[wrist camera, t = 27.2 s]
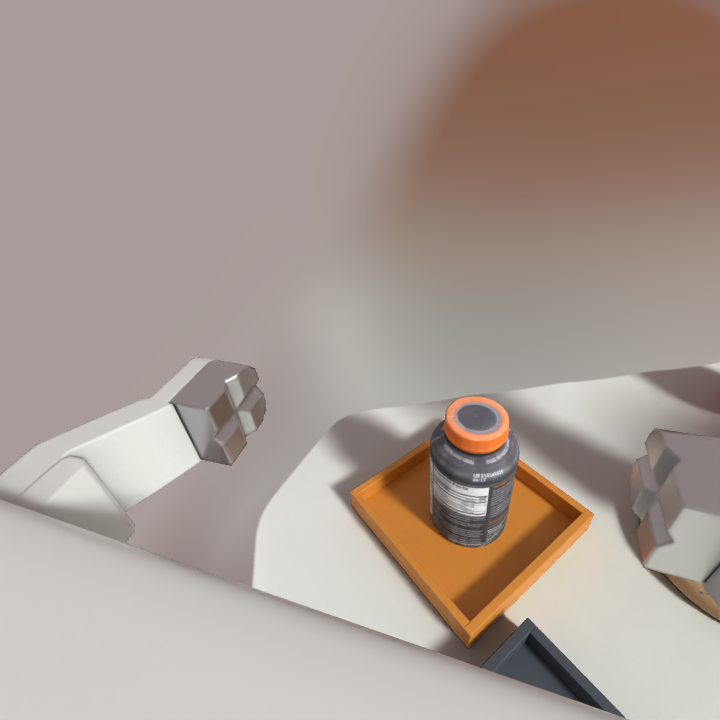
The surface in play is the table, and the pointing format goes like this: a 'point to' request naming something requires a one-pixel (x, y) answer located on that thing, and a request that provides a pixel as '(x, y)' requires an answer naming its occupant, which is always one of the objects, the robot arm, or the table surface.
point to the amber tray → (463, 564)
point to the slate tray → (544, 667)
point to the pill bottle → (472, 471)
